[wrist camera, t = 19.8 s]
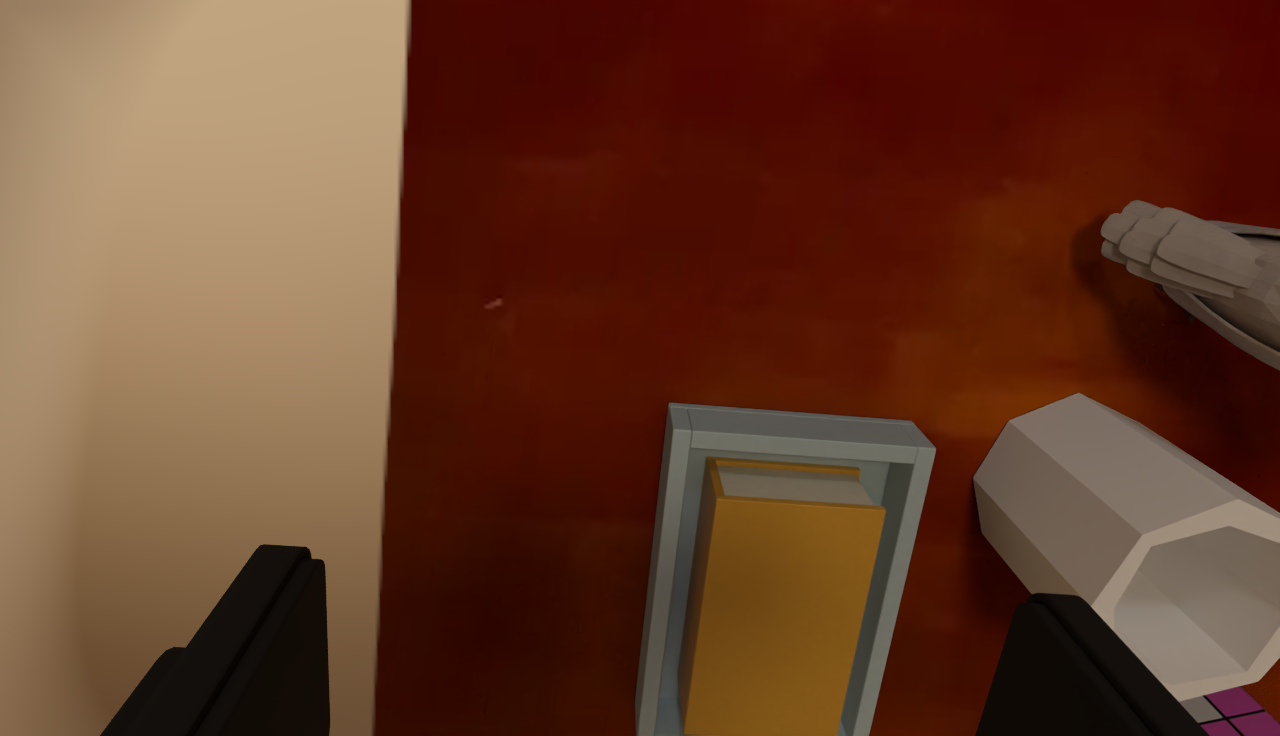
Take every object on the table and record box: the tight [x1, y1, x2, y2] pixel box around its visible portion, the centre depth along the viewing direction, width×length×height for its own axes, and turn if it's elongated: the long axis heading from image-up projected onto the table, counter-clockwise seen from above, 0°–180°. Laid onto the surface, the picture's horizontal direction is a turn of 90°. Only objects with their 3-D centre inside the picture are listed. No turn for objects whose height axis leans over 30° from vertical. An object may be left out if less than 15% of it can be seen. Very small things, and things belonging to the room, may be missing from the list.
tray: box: [635, 403, 936, 736], centre depth 37 cm, size 11×17×3 cm
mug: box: [973, 393, 1280, 702], centre depth 33 cm, size 12×9×10 cm
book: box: [677, 456, 886, 736], centre depth 36 cm, size 12×7×4 cm, turn 175°
